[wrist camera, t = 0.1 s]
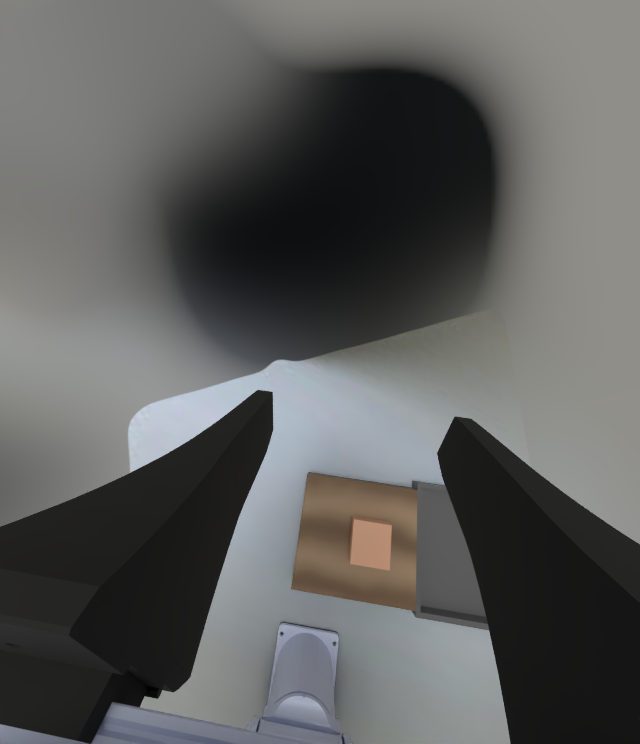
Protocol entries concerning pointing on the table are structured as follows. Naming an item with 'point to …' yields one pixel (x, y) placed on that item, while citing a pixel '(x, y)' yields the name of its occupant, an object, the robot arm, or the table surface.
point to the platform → (332, 540)
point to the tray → (444, 563)
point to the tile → (370, 543)
